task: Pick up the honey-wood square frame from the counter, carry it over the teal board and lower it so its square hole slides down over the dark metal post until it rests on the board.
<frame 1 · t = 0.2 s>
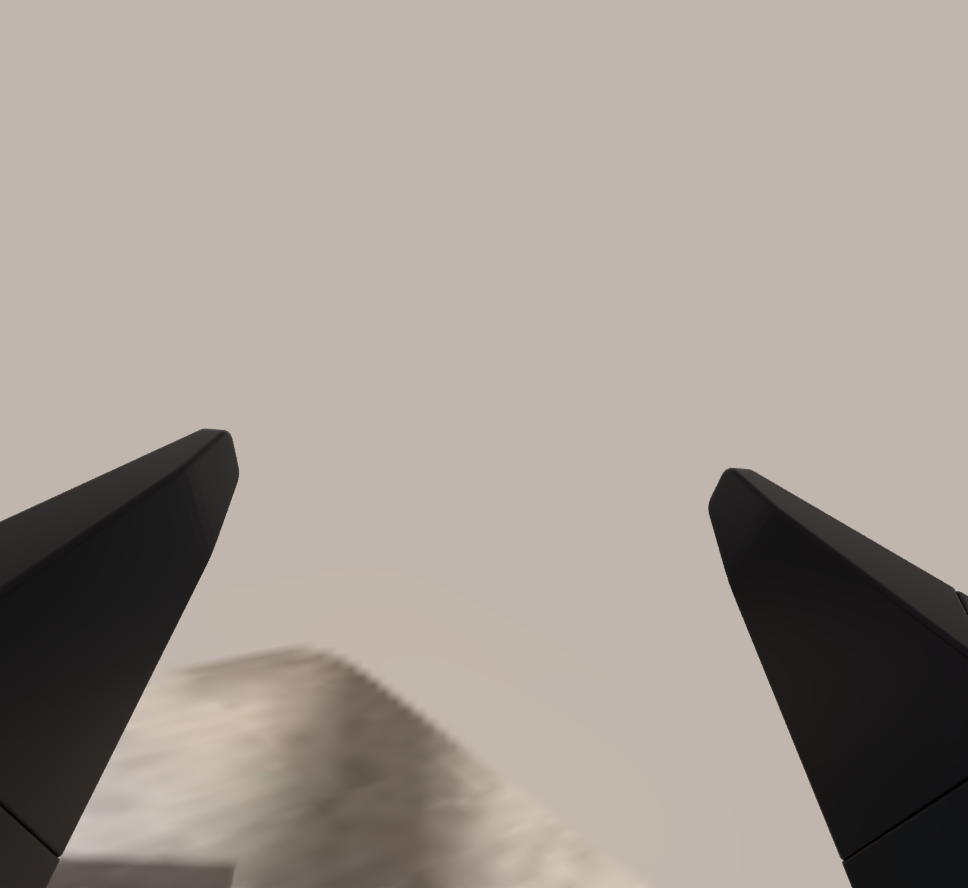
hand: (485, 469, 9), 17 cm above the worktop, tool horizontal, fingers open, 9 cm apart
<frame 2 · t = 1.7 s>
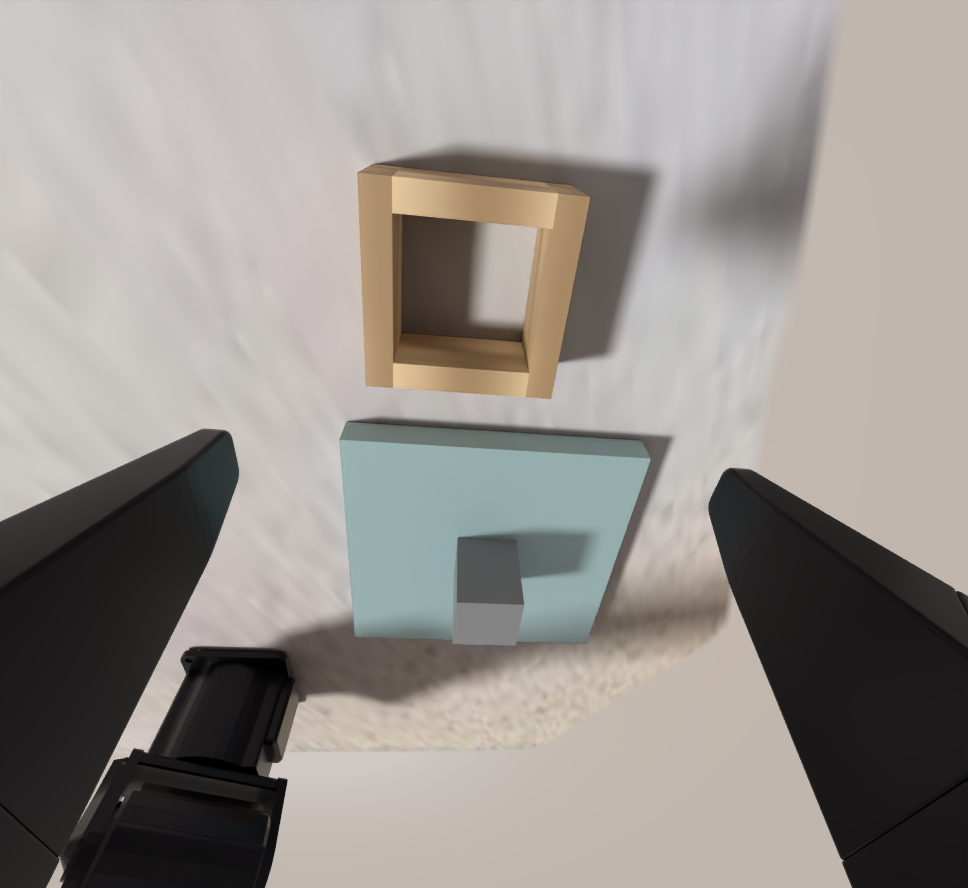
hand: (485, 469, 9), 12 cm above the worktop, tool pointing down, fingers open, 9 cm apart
square frame: (466, 276, 19), on the worktop
post board: (483, 538, 27), on the worktop
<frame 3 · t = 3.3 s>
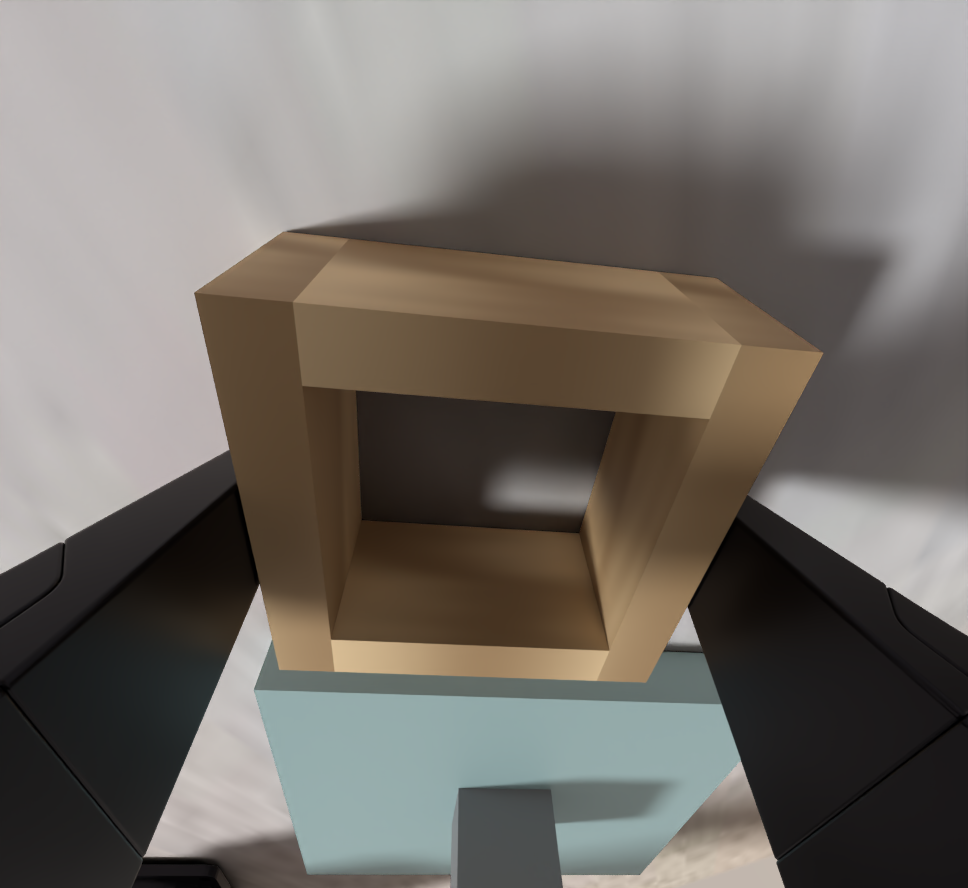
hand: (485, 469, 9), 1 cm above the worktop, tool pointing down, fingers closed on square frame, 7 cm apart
square frame: (484, 436, 10), on the worktop, touching gripper
post board: (497, 759, 18), on the worktop
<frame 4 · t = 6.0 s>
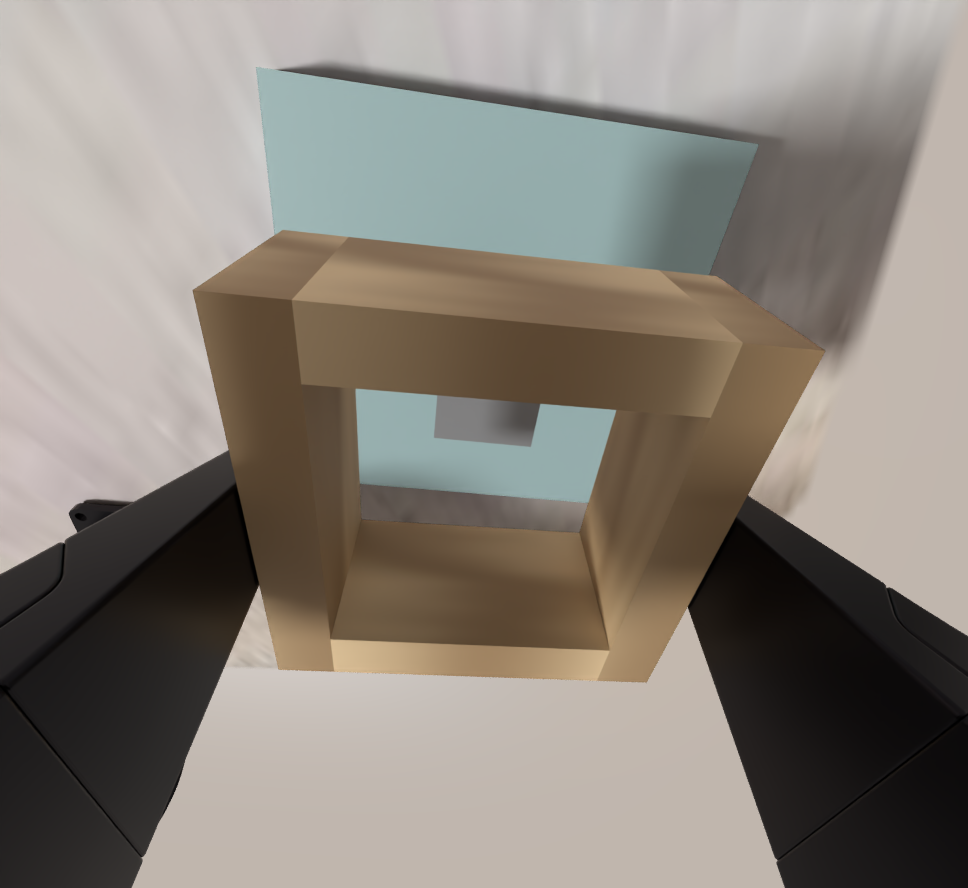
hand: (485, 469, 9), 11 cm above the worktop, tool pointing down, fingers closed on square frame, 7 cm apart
square frame: (484, 435, 10), point 10 cm above the worktop, touching gripper
post board: (485, 327, 19), on the worktop
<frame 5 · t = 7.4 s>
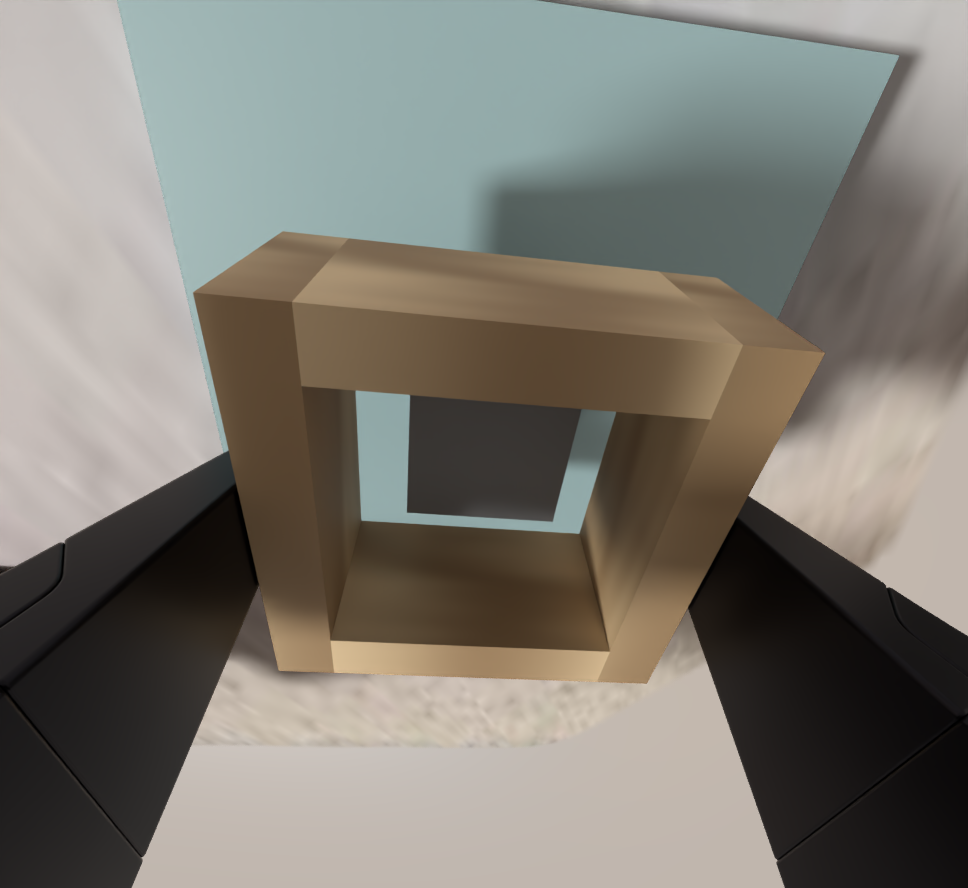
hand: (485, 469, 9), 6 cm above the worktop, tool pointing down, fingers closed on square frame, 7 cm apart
square frame: (484, 436, 10), point 5 cm above the worktop, touching gripper
post board: (482, 341, 14), on the worktop
when the fingers open (4 cm above the worktop, at t = 8.8 s): square frame drops 1 cm, resting on post board.
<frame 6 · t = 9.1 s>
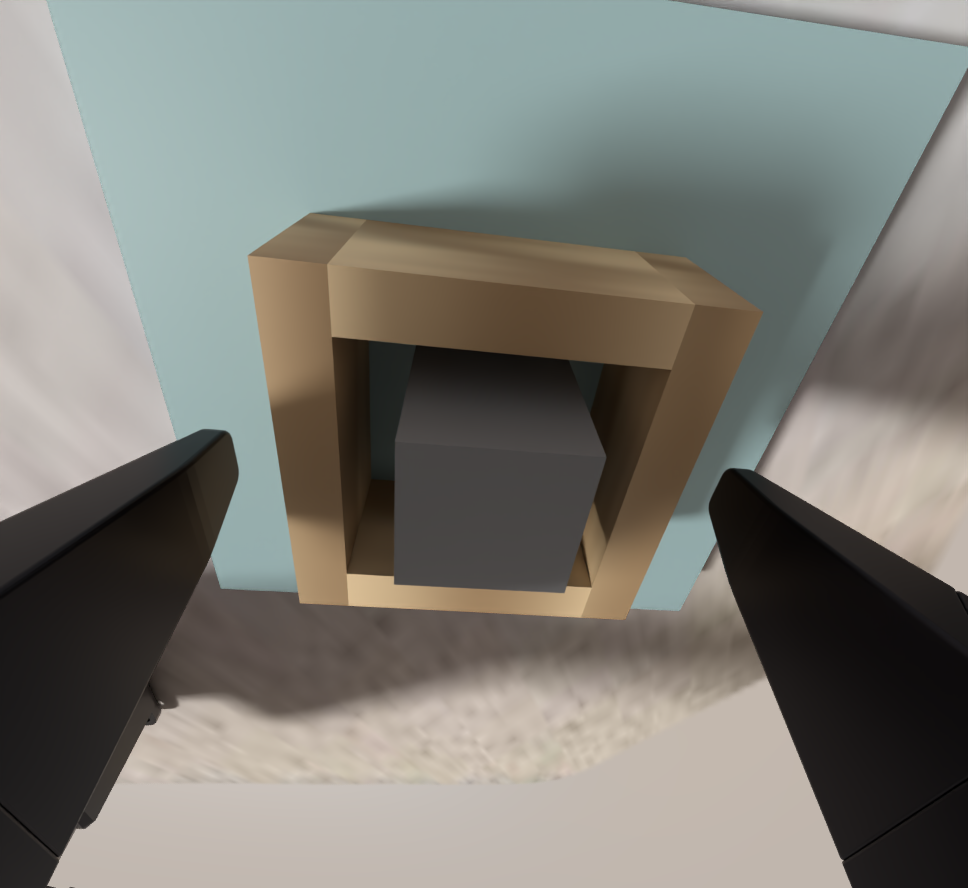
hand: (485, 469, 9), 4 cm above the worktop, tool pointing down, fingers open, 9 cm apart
square frame: (482, 400, 11), point 1 cm above the worktop, touching post board
post board: (482, 371, 12), on the worktop
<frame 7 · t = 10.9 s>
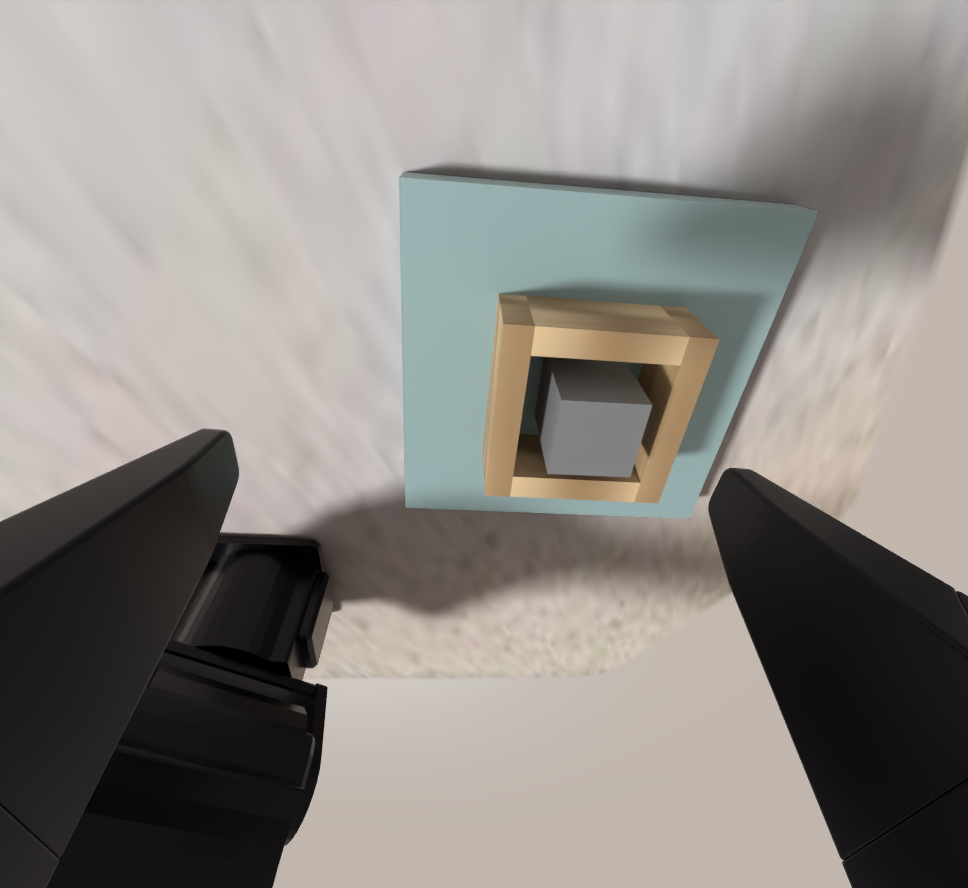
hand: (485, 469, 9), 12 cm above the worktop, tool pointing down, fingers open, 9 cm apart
square frame: (575, 385, 20), point 1 cm above the worktop, touching post board
post board: (569, 369, 21), on the worktop
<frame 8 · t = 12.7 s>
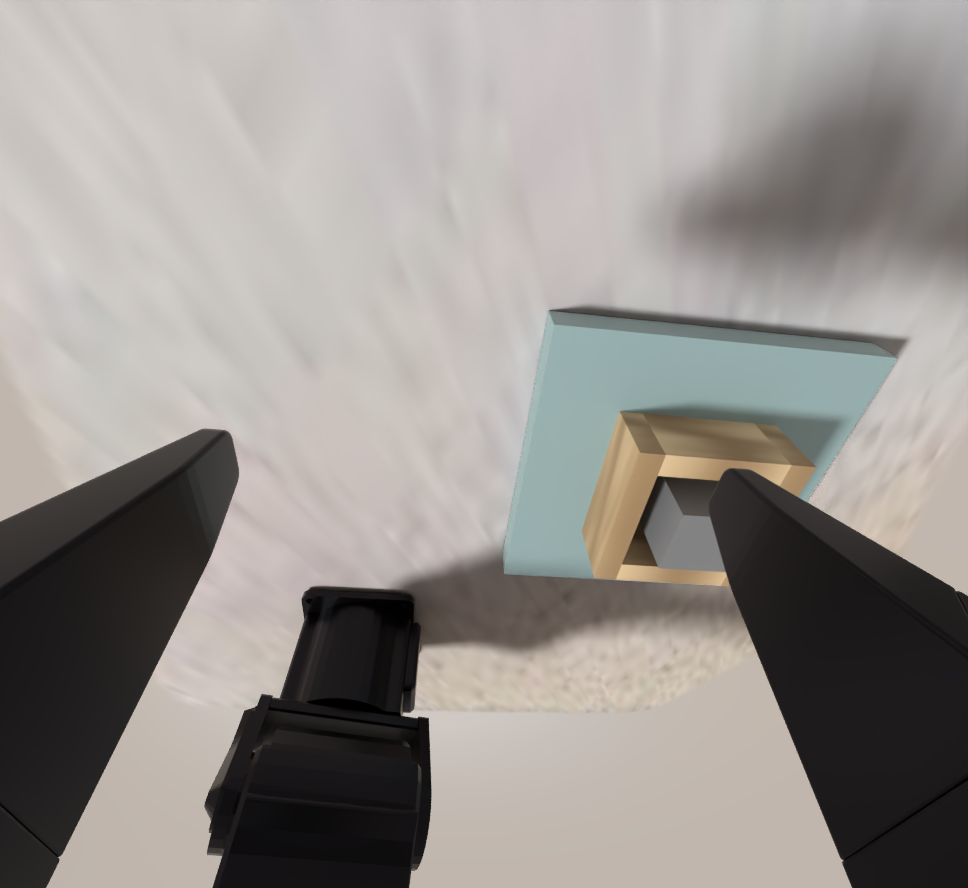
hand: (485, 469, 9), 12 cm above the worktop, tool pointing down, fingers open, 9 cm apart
square frame: (671, 481, 23), point 1 cm above the worktop, touching post board
post board: (661, 462, 24), on the worktop
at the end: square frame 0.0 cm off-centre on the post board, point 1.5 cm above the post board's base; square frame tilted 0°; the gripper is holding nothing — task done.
